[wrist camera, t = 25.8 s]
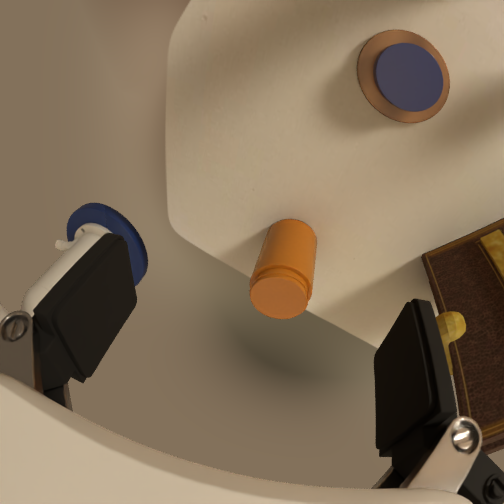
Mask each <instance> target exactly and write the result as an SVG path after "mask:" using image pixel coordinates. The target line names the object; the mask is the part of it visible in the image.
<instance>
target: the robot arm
mask: <svg viewBox="0 0 504 504" xmlns="http://www.w3.org/2000/svg"><path fill="white" fill-rule="evenodd" d="M55 247H56V249H58V250H61V251H65V253H64V254H63V255H62V256H61V257H60V258H59V259H58V260H57V261H56V262H55V263H54V264H53V265H52V266H51V267H50V268H49V269H48V270H47V271H46V272H45V273H44V274H43V275H42V276H41V277H40V278H39V279H38V280H37V281H36V282H35V283H34V284H33V285H32V286H31V288H30V289H29V290H28V291H27V292H26V294H25V296H24V298H23V301H22V305H21V311H14V312H12V313H10V314H9V313H8V312H7V311H6V309H5V308H4V307H3V306H2V305H1V303H0V504H504V472H503V471H502V470H501V469H500V468H499V467H498V466H497V465H496V464H495V463H494V462H493V461H492V460H491V459H490V458H489V457H488V456H487V455H486V454H485V453H484V452H483V451H482V450H481V446H482V438H483V437H482V432H481V429H480V427H479V425H478V424H477V423H476V422H475V420H473V419H472V418H470V417H467V416H460V417H457V413H456V412H457V409H456V403H455V397H454V391H453V386H452V381H451V376H450V372H449V367H448V363H447V358H446V354H445V350H444V346H443V343H442V339H441V335H440V331H439V328H438V324H437V321H436V318H435V314H434V311H433V308H432V305H431V303H430V302H429V301H425V300H420V299H413V300H412V301H411V302H407V303H406V304H405V306H404V308H403V309H402V311H401V313H400V315H399V316H398V318H397V320H396V321H395V323H394V325H393V326H392V328H391V329H390V331H389V333H388V334H387V336H386V337H385V339H384V341H383V342H382V344H381V345H380V347H379V348H378V350H377V351H376V354H375V357H374V374H375V398H376V400H375V401H376V448H377V449H379V456H380V457H392V466H391V467H390V468H389V469H388V470H387V472H386V473H385V474H384V475H383V476H382V477H381V478H380V479H379V481H378V482H377V483H376V484H375V485H374V486H373V487H372V488H371V489H358V488H357V489H356V488H335V487H321V486H309V485H300V484H291V483H285V482H278V481H271V480H266V479H260V478H255V477H250V476H245V475H240V474H236V473H232V472H227V471H223V470H219V469H215V468H211V467H208V466H204V465H201V464H197V463H194V462H191V461H188V460H184V459H181V458H178V457H175V456H172V455H169V454H166V453H164V452H160V451H158V450H155V449H153V448H150V447H147V446H145V445H142V444H140V443H137V442H135V441H133V440H130V439H128V438H125V437H123V436H121V435H118V434H116V433H114V432H112V431H110V430H108V429H105V428H103V427H101V426H99V425H97V424H95V423H93V422H91V421H89V420H87V419H85V418H84V417H82V416H80V415H78V414H76V413H74V412H73V410H72V405H71V399H70V393H69V388H68V381H69V379H70V377H72V378H74V379H76V380H78V381H79V382H82V383H84V381H85V380H86V378H87V377H91V376H92V374H93V373H94V371H95V370H96V368H97V366H98V365H99V363H100V361H101V359H102V358H103V356H104V355H105V353H106V351H107V350H108V348H109V347H110V345H111V344H112V342H113V340H114V339H115V337H116V336H117V334H118V333H119V331H120V329H121V328H122V326H123V324H124V323H125V322H126V320H127V319H128V317H129V316H130V314H131V312H132V311H133V309H134V308H135V306H136V303H137V296H136V291H135V286H134V281H133V275H132V270H131V264H130V258H129V252H128V245H127V242H126V241H124V238H123V237H122V236H121V235H116V234H113V233H112V232H111V231H109V230H108V229H107V228H105V227H103V226H101V225H99V224H96V223H86V224H84V225H82V226H81V227H80V228H78V230H77V231H76V233H75V237H74V241H72V242H71V241H69V242H68V243H67V242H65V241H62V240H57V241H56V243H55Z"/></svg>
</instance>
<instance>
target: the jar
mask: <svg viewBox="0 0 504 504" xmlns="http://www.w3.org/2000/svg"><path fill="white" fill-rule="evenodd" d="M316 249H317V239H316V235H315V233H314V232H313V230H312V229H311V228H310V227H309V226H308V225H307V224H305V223H303V222H301V221H299V220H294V219H285V220H281V221H278V222H276V223H275V224H273V225H272V226H271V227H270V228H269V230H268V232H267V234H266V237H265V240H264V243H263V246H262V248H261V251H260V254H259V257H258V260H257V262H256V265H255V268H254V271H253V273H252V276H251V279H250V298H251V302H252V304H253V305H254V307H255V308H256V309H257V310H258V311H259V312H261V313H262V314H264V315H266V316H268V317H272V318H276V319H289V318H293V317H296V316H297V315H299V314H301V313H302V312H303V311H304V310H305V309H306V307H307V305H308V301H309V300H310V298H311V295H312V289H313V280H314V270H315V260H316Z"/></svg>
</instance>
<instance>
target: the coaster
mask: <svg viewBox="0 0 504 504" xmlns="http://www.w3.org/2000/svg"><path fill="white" fill-rule="evenodd" d="M398 43H411V44H415V45H418V46H420V47H422V48H424V49H425V50H427V51H428V52H429V53H430V54H431V55H432V56H433V57H434V58H435V59H436V61H437V62H438V64H439V66H440V68H441V71H442V75H443V90H442V93H441V96H440V98H439V99H438V101H437V102H436V103H435V104H434V105H433V106H432V107H430V108H428V109H426V110H423V111H418V112H412V111H406V110H403V109H400V108H398V107H397V106H395V105H393V104H391V103H390V102H388V101H387V100H386V99H385V98H384V97H383V96H382V94H381V93H380V92H379V90H378V88H377V86H376V84H375V81H374V76H373V67H374V63H375V60H376V58H377V56H378V55H379V53H380V52H381V51H382V50H384V49H385V48H387V47H389V46H391V45H394V44H398ZM357 76H358V81H359V84H360V87H361V89H362V92H363V93H364V95H365V97H366V98H367V100H368V101H369V102H370V103H371V105H372V106H373V107H374V108H375V109H377V110H378V111H379V112H380V113H382V114H383V115H385V116H387V117H389V118H390V119H393V120H396V121H399V122H404V123H417V122H422V121H425V120H427V119H429V118H431V117H433V116H434V115H435V114H437V113H438V112H439V111H440V110H441V108H442V107H443V105H444V104H445V102H446V100H447V97H448V94H449V88H450V79H449V73H448V69H447V66H446V63H445V61H444V59H443V57H442V56H441V54H440V53H439V52H438V50H437V49H436V48H435V47H434V46H433V45H432V44H431V43H430V42H429V41H427V40H426V39H425V38H423V37H421V36H419V35H417V34H415V33H412V32H409V31H404V30H389V31H385V32H382V33H379V34H377V35H376V36H374V37H372V38H371V39H370V40H369V41H368V42H367V43H366V44H365V45H364V47H363V49H362V50H361V52H360V55H359V58H358V62H357Z"/></svg>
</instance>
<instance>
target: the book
mask: <svg viewBox="0 0 504 504" xmlns="http://www.w3.org/2000/svg"><path fill="white" fill-rule="evenodd" d="M421 258H422V261H423V264H424V267H425V270H426V272H427V275H428V278H429V283H430V287H431V290H432V293H433V296H434V300H435V303H436V306H437V310H438V313H439V315H438V316H437V317H436V321H437V324H438V328H439V331H440V335H441V339H442V343H443V346H444V350H445V354H446V358H447V363H448V367H449V372H450V375H453V377H454V383H455V388H456V395H457V401H458V408H459V415H460V416H467V417H470V418H472V419H473V420H475V422H476V423H477V424H478V425H479V427H480V429H481V432H482V437H483V438H482V446H481V450H482V451H483V452H484V453H485V454H486V455H488V454H491V453H493V452H496V451H499V450H501V449H504V218H503V219H501V220H499V221H497V222H494V223H492V224H490V225H488V226H486V227H484V228H482V229H480V230H477V231H475V232H473V233H471V234H469V235H466V236H464V237H462V238H460V239H457V240H455V241H453V242H451V243H448V244H446V245H444V246H441V247H439V248H437V249H434V250H432V251H429V252H427V253H425V254H422V257H421Z"/></svg>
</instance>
